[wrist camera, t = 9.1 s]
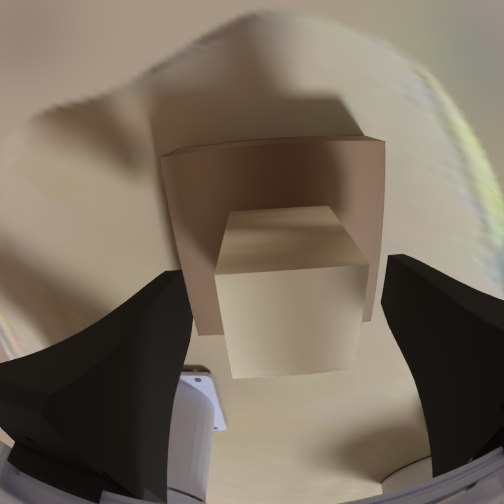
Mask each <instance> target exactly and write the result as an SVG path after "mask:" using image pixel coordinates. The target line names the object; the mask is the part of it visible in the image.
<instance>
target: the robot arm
mask: <svg viewBox="0 0 504 504" xmlns="http://www.w3.org/2000/svg"><path fill="white" fill-rule="evenodd" d="M381 305H382V308H383V311H384V314H385V317H386V320H387V323H388V325H389V328H390V330H391V332H392V334H393V336H394V338H395V340H396V342H397V344H398V346H399V348H400V350H401V352H402V354H403V356H404V358H405V360H406V362H407V364H408V366H409V369H410V371H411V373H412V376H413V378H414V381H415V384H416V387H417V390H418V393H419V397H420V400H421V404H422V408H423V412H424V416H425V421H426V425H427V431H428V437H429V443H430V451H431V461H432V477H433V478H432V479H429V480H427V481H424V482H421V483H418V484H415V485H412V486H409V487H406V488H403V489H399V490H396V491H392V492H389V493H385V494H381V495H377V496H373V497H369V498H365V499H360V500H355V501H350V502H345V503H339V504H436V503H438V502H441V501H443V500H445V499H448V498H450V497H452V496H454V495H457V494H459V493H461V492H463V491H465V490H466V491H465V492H464V493H462V494H460V495H458V496H457V497H455V498H453V499H451V500H449V501H447V502H445V503H443V504H504V300H501V299H498V298H496V297H493V296H491V295H488V294H486V293H483V292H481V291H478V290H476V289H474V288H472V287H470V286H468V285H466V284H463V283H461V282H459V281H457V280H455V279H453V278H451V277H449V276H448V275H446V274H444V273H442V272H440V271H438V270H436V269H434V268H432V267H430V266H429V265H427V264H425V263H423V262H421V261H419V260H417V259H415V258H412V257H410V256H407V255H405V254H396V255H388V260H387V267H386V274H385V280H384V287H383V293H382V298H381ZM192 323H193V314H192V310H191V306H190V302H189V297H188V293H187V289H186V285H185V280H184V276H183V271H182V270H173V271H165V272H163V273H162V274H160V275H159V276H157V277H156V278H155V279H154V280H152V281H151V282H150V283H148V284H147V285H146V286H145V287H143V288H142V289H141V290H140V291H138V292H137V293H136V294H135V295H133V296H132V297H131V298H130V299H128V300H127V301H126V302H124V303H123V304H122V305H120V306H119V307H117V308H116V309H115V310H113V311H112V312H111V313H109V314H108V315H107V316H105V317H104V318H102V319H101V320H99V321H98V322H96V323H94V324H93V325H91V326H89V327H88V328H86V329H84V330H83V331H81V332H79V333H77V334H75V335H73V336H71V337H69V338H67V339H65V340H63V341H61V342H59V343H57V344H55V345H53V346H50V347H48V348H46V349H43V350H41V351H38V352H35V353H33V354H30V355H27V356H24V357H21V358H17V359H14V360H10V361H7V362H3V363H0V427H1V428H2V429H3V430H4V431H5V432H6V433H7V434H8V435H9V436H10V437H11V438H12V439H13V440H14V441H15V444H14V446H13V448H10V447H9V446H8V445H6V444H5V443H3V442H1V441H0V504H207V503H206V494H207V484H208V474H209V465H210V456H211V447H212V438H213V431H224V430H226V428H227V424H226V421H225V418H224V415H223V411H222V408H221V405H220V401H219V398H218V395H217V391H216V388H215V384H214V381H213V377H212V375H211V374H210V373H208V372H181V371H182V368H183V364H184V361H185V357H186V354H187V350H188V347H189V343H190V338H191V331H192Z"/></svg>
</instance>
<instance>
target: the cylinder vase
mask: <svg viewBox="0 0 504 504" xmlns="http://www.w3.org/2000/svg"><path fill="white" fill-rule="evenodd" d="M432 478H433V477H432V461H431V457H428V458H425V459H422V460H420V461H417V462H415V463H413V464H411V465H408V466H406V467H404V468H402V469H400V470H399V471H397V472H395V473H393V474H392V475H390V476H389V477H388V478H386V479H385V480H384V482H383V483H382V491H383V494H385V493H389V492H392V491H396V490H399V489H403V488H406V487H409V486H412V485H415V484H418V483H421V482H424V481H427V480H429V479H432ZM462 493H463V492H461V493H459V494H457V495H454V496H452V497H450V498H448V499H445V500H443V501H441V502H438V503H436V504H443V503H445V502H447V501H449V500H451V499H453V498H455V497H457V496H458V495H460V494H462Z"/></svg>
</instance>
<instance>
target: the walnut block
mask: <svg viewBox="0 0 504 504" xmlns="http://www.w3.org/2000/svg"><path fill="white" fill-rule="evenodd" d="M160 162H161V168H162V174H163V180H164V185H165V191H166V196H167V202H168V207H169V212H170V217H171V222H172V227H173V232H174V237H175V241H176V246H177V250H178V255H179V259H180V264H181V268H182V271H183V276H184V280H185V285H186V289H187V293H188V297H189V301H190V305H191V309H192V313H193V317H194V320H195V324H196V328H197V332H198V335H225V334H224V329H223V323H222V318H221V312H220V306H219V300H218V294H217V288H216V282H215V276H214V274H215V270H216V266H217V262H218V257H219V253H220V249H221V245H222V241H223V237H224V233H225V229H226V225H227V221H228V217H229V213H230V212H235V211H248V210H262V209H277V208H293V207H312V206H329V207H330V209H331V210H332V211H333V213H334V214H335V215H336V217H337V218H338V219H339V221H340V222H341V224H342V225H343V226H344V228H345V229H346V230H347V232H348V233H349V235H350V236H351V237H352V239H353V240H354V242H355V243H356V245H357V246H358V247H359V249H360V250H361V252H362V253H363V255H364V256H365V258H366V259H367V261H368V262H369V263H370V267H369V275H368V283H367V290H366V297H365V304H364V310H363V317H362V322H368V321H371V316H372V310H373V304H374V298H375V291H376V284H377V276H378V268H379V259H380V250H381V239H382V227H383V213H384V193H385V141H382V140H379V139H375V138H372V137H368V136H306V137H287V138H272V139H259V140H248V141H238V142H229V143H220V144H212V145H205V146H197V147H190V148H184V149H177V150H174V151H172V152H170V153H168V154H166V155H164V156H162V157H161V158H160Z"/></svg>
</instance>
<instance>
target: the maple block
mask: <svg viewBox="0 0 504 504" xmlns="http://www.w3.org/2000/svg"><path fill="white" fill-rule="evenodd" d="M369 267H370V263H369V262H368V261H367V259H366V258H365V256H364V255H363V253H362V252H361V250H360V249H359V247H358V246H357V245H356V243H355V242H354V240H353V239H352V237H351V236H350V235H349V233H348V232H347V230H346V229H345V228H344V226H343V225H342V224H341V222H340V221H339V219H338V218H337V217H336V215H335V214H334V213H333V211H332V210H331V209H330V207H329V206H312V207H293V208H277V209H262V210H248V211H235V212H230V213H229V217H228V221H227V225H226V229H225V233H224V237H223V241H222V245H221V249H220V253H219V257H218V262H217V266H216V270H215V274H214V276H215V282H216V288H217V294H218V300H219V306H220V312H221V318H222V323H223V329H224V334H225V340H226V345H227V351H228V356H229V361H230V366H231V371H232V376H233V379H235V378H261V377H278V376H292V375H303V374H313V373H322V372H331V371H339V370H346V369H353V364H354V359H355V354H356V349H357V344H358V339H359V334H360V328H361V322H362V317H363V310H364V304H365V297H366V290H367V283H368V275H369Z"/></svg>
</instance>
